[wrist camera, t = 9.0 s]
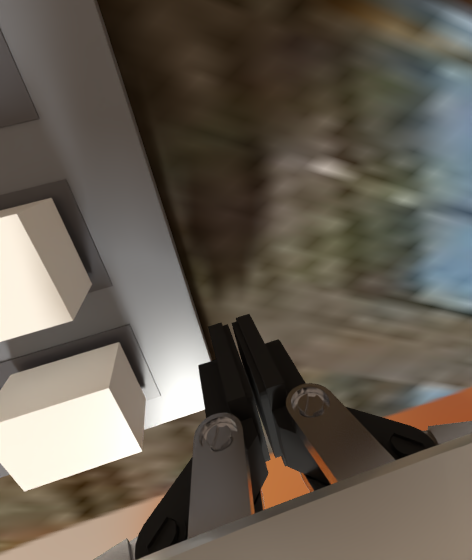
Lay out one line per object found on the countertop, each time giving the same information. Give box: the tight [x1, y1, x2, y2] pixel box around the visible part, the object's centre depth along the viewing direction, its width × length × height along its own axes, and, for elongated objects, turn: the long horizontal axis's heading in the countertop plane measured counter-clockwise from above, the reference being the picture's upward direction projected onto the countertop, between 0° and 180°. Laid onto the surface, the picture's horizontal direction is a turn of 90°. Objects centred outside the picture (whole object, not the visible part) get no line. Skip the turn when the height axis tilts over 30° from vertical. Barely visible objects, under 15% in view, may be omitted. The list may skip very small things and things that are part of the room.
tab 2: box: [0, 342, 146, 491], centre depth 11 cm, size 4×3×2 cm
